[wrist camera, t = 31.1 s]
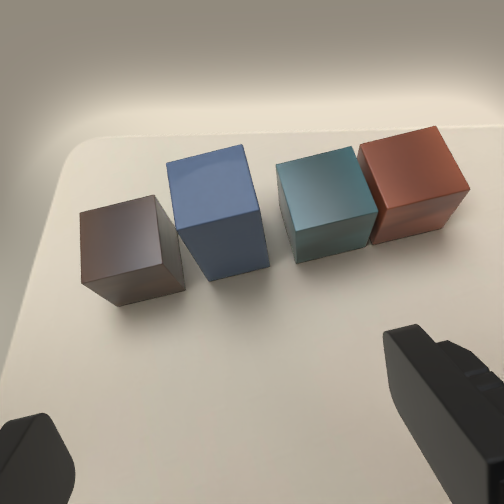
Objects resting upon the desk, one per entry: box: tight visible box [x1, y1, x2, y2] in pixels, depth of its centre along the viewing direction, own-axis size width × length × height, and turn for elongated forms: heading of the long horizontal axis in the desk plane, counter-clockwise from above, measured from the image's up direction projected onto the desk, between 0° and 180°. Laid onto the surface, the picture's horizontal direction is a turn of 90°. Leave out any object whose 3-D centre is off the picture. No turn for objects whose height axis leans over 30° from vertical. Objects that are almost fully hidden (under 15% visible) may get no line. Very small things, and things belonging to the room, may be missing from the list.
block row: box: [80, 126, 470, 307], centre depth 26 cm, size 24×5×5 cm, turn 102°
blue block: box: [166, 144, 270, 281], centre depth 24 cm, size 4×4×8 cm
